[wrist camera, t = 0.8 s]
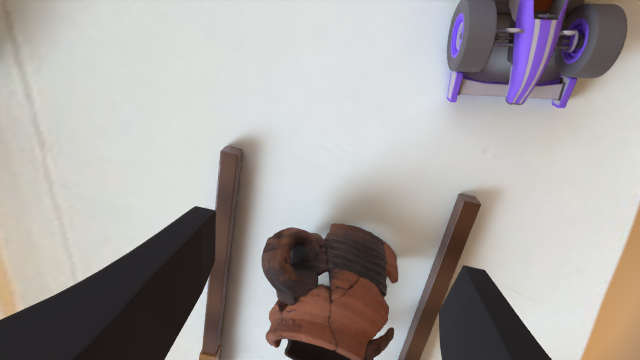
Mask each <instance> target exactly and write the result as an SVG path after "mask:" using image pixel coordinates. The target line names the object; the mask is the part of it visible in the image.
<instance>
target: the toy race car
mask: <svg viewBox="0 0 640 360" xmlns="http://www.w3.org/2000/svg"><path fill="white" fill-rule="evenodd" d="M497 13H511V15H512V18H513V20H514V21H516V22H510V26H509V28H506V30H501V29H497ZM564 16H568V17H567V19H566V21H565V22H564V24H563V26H562V23H563V19H564ZM561 27H562V28H561ZM496 32H499V33H509V37H506V36H499V35H496ZM626 33H627V19H626V15H625V13H624V11H623V9H622V8H621V7H619V6H618V5H614V4H591V3H586V4H584V0H461V1H460V2H459V4H458V6H457V8H456V10H455V12H454V15H453V18H452V22H451V26H450V30H449V36H448V44H447V60H448V66H449V68H450V70H451V71H452V72H451V78H450V83H449V89H448V95H447V99H448V100H449V101H450V102H456V100H457V96H458V95H459V94H468V95H486V96H504V97H506V102H507V103H508V104H517V105H522V104H523V103H524V102H525V101H526V99H527V98H541V99H553V101H552V105H554V106H556V107H557V108H565V107H566V104H567V102H568V99H569V97H570V95H571V93H572V90H573V88H574V86H575V84H576V81H577V78H597V77H599V76H601V75H603V74H604V73H606V72H607V71H608V70H609V69H610V68H611V67H612V65H613V64H614V63H615V61H616V60H617V58H618V56H619V55H620V52H621V50H622V48H623V45H624V42H625V38H626ZM499 39H504V40H508V43H494V40H499ZM493 46H508V57H507V60H508V61H509V62H511V63H512V64H513V66H511V69H510V79H509V83H504V82H485V81H478V80H475V79H472V78H469V77H466V76H464V75H463V72H479V71H481V70H482V69H483V68H484V66H485V65H486V63H487V61H488V59H489V57H490V54H491V51H492V48H493ZM554 50H555V63H556V67H557V70H558V72H559V73H560V76H559V78H558V79H557V80H552V81H548V82H543V83H538V84H537V82H538V81H539V79H540V78H541V76H542V74H543V73H544V71H545V69H546V67H547V65H548V63H549V61H550V59H551V57H552V54H553V52H554Z"/></svg>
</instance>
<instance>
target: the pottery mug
mask: <svg viewBox="0 0 640 360" xmlns="http://www.w3.org/2000/svg"><path fill="white" fill-rule="evenodd" d="M262 268H263V272H264V274H265V276H266V278H267V279H268V281H269V282H270V283H271V285H272V286H273V287H274V288H275V289H276V292H277V297H278V301H277V302H276V304H275V305H274V307H273V308H272V310H271V311H270V313H269V320H270V322H271V326H270V329H269V331H268V332H267V334H266V340H267V341H268V343H269V344H270V345H272V346H274V347H275V348H277V347H279V346H280V343H281V340H282V339H288V344H287V347H286V349H285V355H286V356H287V357H289V358H291V359H293V360H373V359H374V357H376V356H377V355H379V354H380V353H381V352H382V351H383V350H384V349H385V348H386V347H387V346H388V344H389V342H390V341H391V340H392V339H393V336H394V328H393V327H391V328H389V329H388V330H387V331H386V333H385V334H384V335H382V336H380V337H379V338H376V339H372V338H373V337H375V336H376V334H377V333H378V332H379V331H380V330H381V329H382V328H383V326H384V325H385V324H386V323H387V321H388V313H389V307H388V305H387V303H386V301H385V300H384V297H385V296H386V289H387V285H386V276H387V277H388V278H389V280H390V281H391V283H396V282H397V281H398V269H397V264H396V255H395V253H394V251H393V250H392V249H391V247H390V246H389V245H387V244H386V243H385V242H384V241H383V240H382V239H380V238H379V237H377V236H375V235H374V234H372V233H371V232H368V231H365V230H363V229H361V228H359V227H355V226H351V225H344V224H333V225H332V226H331V228H330V232H329V233H328V234H327V236H326V238H325V239H323V238H322V237H321V236H320V235H319V234H316V233H309V232H307V231H305V230H301V229H298V228H287V229H284V230H281V231H279V232H277V233H276V234H274V235H273V236H272V237H270V238H268V240H267V242H266V245H265V248H264V250H263V254H262ZM326 271H327V272H328V273H329V282H330V286H329V287H327V286H325V285H318V276H319V275H321V274H322V273H325V272H326ZM371 339H372V340H371Z"/></svg>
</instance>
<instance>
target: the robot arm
mask: <svg viewBox="0 0 640 360" xmlns="http://www.w3.org/2000/svg"><path fill="white" fill-rule="evenodd" d="M215 244H216V210H211V209H207V208H202V207H198V206H195V207H193V208H192V209H190V210H189V211H188V212H186V213H185V214H183V215H182V216H181V217H179V218H178V219H176V220H175V221H174V222H172V223H171V224H170V225H168V226H167V227H165V228H164V229H163V230H161V231H160V232H158V233H157V234H156V235H154V236H153V237H151V238H150V239H148V240H147V241H145V242H144V243H142V244H141V245H139V246H138V247H136V248H135V249H133V250H132V251H130V252H129V253H127V254H126V255H124V256H122V257H121V258H119V259H118V260H116V261H114V262H113V263H111V264H109V265H108V266H106V267H105V268H103V269H101V270H100V271H98V272H96V273H94V274H93V275H91V276H89V277H87V278H86V279H84V280H82V281H80V282H78V283H77V284H75V285H73V286H71V287H69V288H67V289H65V290H63V291H61V292H60V293H58V294H56V295H54V296H51V297H49V298H47V299H45V300H43V301H41V302H39V303H36V304H34V305H32V306H30V307H28V308H25V309H23V310H21V311H19V312H17V313H15V314H12V315H10V316H8V317H6V318H4V319H1V320H0V360H164V359H165V358H166V356H167V354H168V352H169V351H170V349H171V347H172V345H173V343H174V342H175V340H176V338H177V336H178V335H179V333H180V331H181V329H182V328H183V326H184V324H185V322H186V321H187V319H188V317H189V315H190V313H191V312H192V310H193V308H194V306H195V304H196V303H197V301H198V299H199V297H200V295H201V294H202V292H203V289H204V287H205V285H206V282H207V280H208V278H209V275H210V273H211V270H212V268H213V265H214V263H215ZM439 334H440V349H441V356H442V360H552V359H551V358H550V357H549V356H548V354H547V353H546V352H545V351H544V349H543V348H542V347H541V346H540V344H539V343H538V342H537V340H536V339H535V338H534V336H533V335H532V334H531V332H530V331H529V330H528V328H527V327H526V326H525V324H524V323H523V322H522V320H521V319H520V318H519V316H518V315H517V314H516V312H515V311H514V309H513V308H512V307H511V305H510V304H509V303H508V301H507V300H506V298H505V297H504V296H503V294H502V293H501V291H500V290H499V289H498V287H497V286H496V284H495V283H494V282H493V280H492V279H491V278H490V276H489V275H488V274H487V272H486V271H485V270H482V269H478V268H473V267H469V266H464V265H463V267H462V269H461V271H460V272H459V274H458V276H457V278H456V280H455V282H454V284H453V286H452V288H451V289H450V291H449V293H448V295H447V297H446V299H445V301H444V303H443V305H442V306H441V308H440V310H439Z"/></svg>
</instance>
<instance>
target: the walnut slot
mask: <svg viewBox="0 0 640 360" xmlns="http://www.w3.org/2000/svg"><path fill="white" fill-rule="evenodd" d="M241 159H242V149H239V148H234V147H229V146H225V147H224V148H223V149H222V150H221V152H220V162H219V173H218V184H217V195H216V206H215V210H216V244H215V263H214V265H213V268H212V270H211V273H210V275H209V281H208V292H207V303H206V313H205V324H204V335H203V346H202V350H201V353H200V356H199V360H219V359H220V351H221V345H220V340H221V331H222V323H223V314H224V306H225V297H226V288H227V280H228V271H229V263H230V254H231V245H232V237H233V228H234V220H235V211H236V202H237V194H238V185H239V177H240V168H241ZM480 206H481V203H480V202H479V201H478V199H477V198H476V197H473V196H469V195H464V194H459V195H458V198H457V201H456V203H455V206H454V209H453V211H452V214H451V217H450V220H449V222H448V225H447V228H446V231H445V233H444V236H443V239H442V241H441V244H440V247H439V250H438V252H437V255H436V258H435V261H434V263H433V266H432V269H431V271H430V274H429V277H428V280H427V282H426V285H425V288H424V291H423V293H422V296H421V299H420V301H419V304H418V307H417V310H416V312H415V315H414V318H413V321H412V323H411V326H410V329H409V331H408V334H407V337H406V340H405V342H404V345H403V348H402V351H401V353H400V356H399V359H398V360H420V358H421V355H422V352H423V350H424V347H425V345H426V342H427V340H428V337H429V335H430V332H431V330H432V327H433V325H434V322H435V320H436V317H437V315H438V312H439V310H440V307H441V305H442V302H443V300H444V297H445V295H446V292H447V289H448V287H449V284H450V282H451V279H452V277H453V274H454V272H455V269H456V267H457V264H458V262H459V259H460V257H461V254H462V252H463V249H464V247H465V244H466V242H467V239H468V237H469V234H470V231H471V229H472V226H473V224H474V221H475V219H476V216H477V214H478V211H479V209H480Z"/></svg>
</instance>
